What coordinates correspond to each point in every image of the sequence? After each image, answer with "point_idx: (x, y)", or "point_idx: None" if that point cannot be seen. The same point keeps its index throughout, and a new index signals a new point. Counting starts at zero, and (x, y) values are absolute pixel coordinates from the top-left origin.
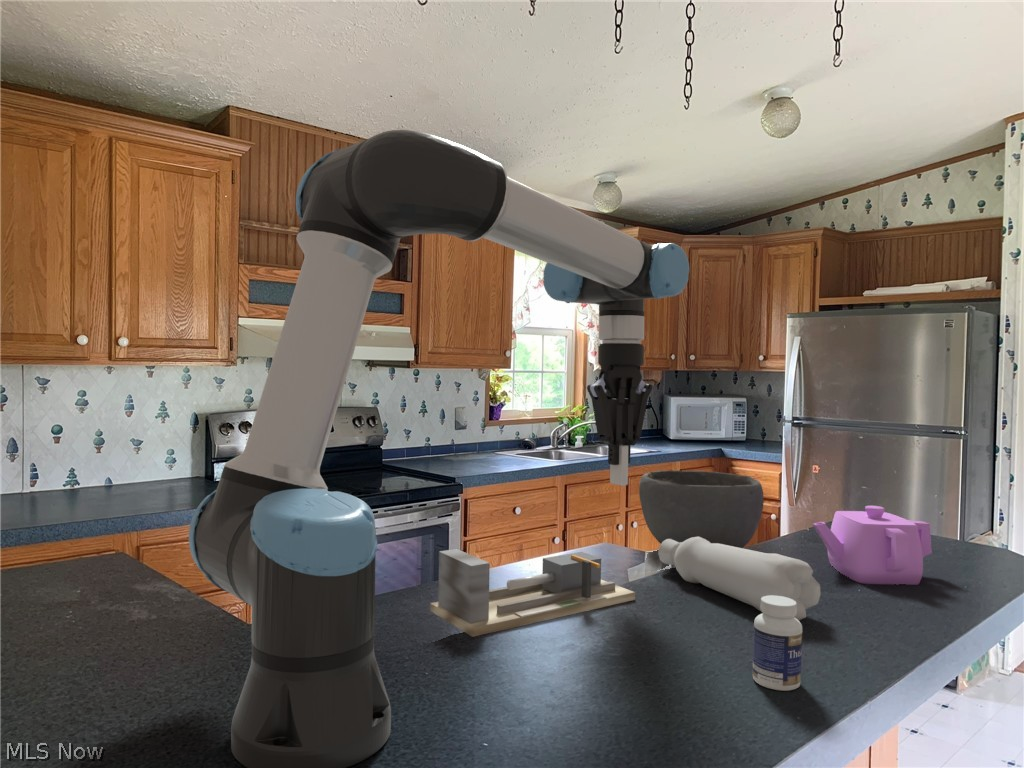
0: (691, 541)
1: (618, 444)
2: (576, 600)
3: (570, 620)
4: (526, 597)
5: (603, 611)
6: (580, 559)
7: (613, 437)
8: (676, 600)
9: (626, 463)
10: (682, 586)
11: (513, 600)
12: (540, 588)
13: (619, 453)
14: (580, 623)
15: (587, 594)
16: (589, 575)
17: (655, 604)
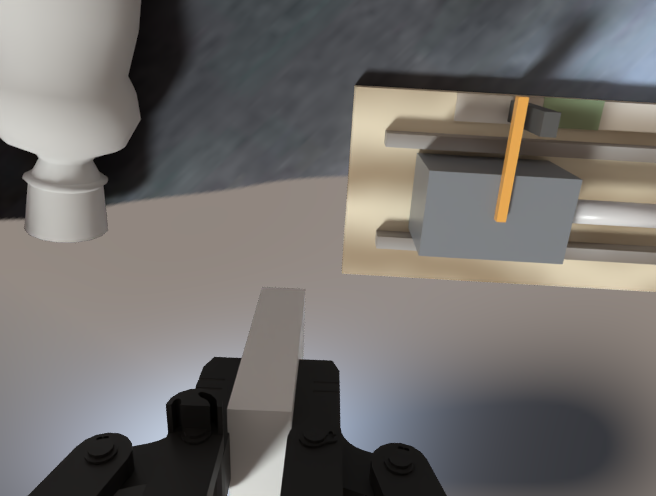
0: (62, 109)
1: (317, 428)
2: None
3: (601, 66)
4: None
5: (487, 67)
6: (512, 178)
7: (349, 484)
8: (263, 14)
9: (258, 342)
10: (158, 90)
11: None
12: None
13: (294, 396)
14: (600, 35)
15: None
16: (536, 107)
17: (336, 25)
